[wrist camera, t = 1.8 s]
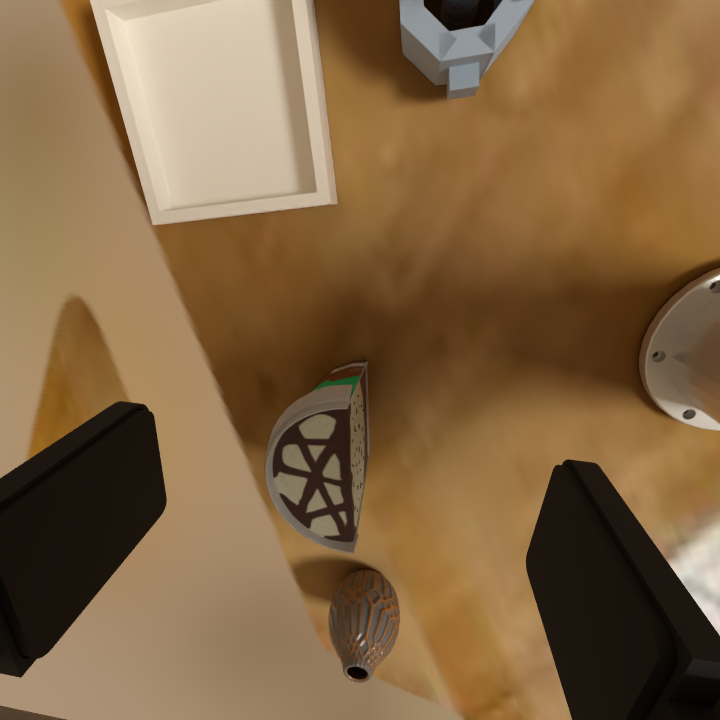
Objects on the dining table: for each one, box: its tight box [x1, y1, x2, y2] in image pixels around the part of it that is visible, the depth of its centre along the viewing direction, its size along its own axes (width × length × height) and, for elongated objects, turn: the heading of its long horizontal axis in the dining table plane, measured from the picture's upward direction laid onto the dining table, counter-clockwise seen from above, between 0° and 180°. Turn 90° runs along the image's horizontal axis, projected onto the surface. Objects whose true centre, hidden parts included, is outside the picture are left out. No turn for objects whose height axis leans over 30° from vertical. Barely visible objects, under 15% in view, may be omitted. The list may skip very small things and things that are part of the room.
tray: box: [90, 0, 338, 225], centre depth 25 cm, size 13×13×2 cm
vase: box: [329, 569, 400, 683], centre depth 37 cm, size 7×7×9 cm
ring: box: [399, 0, 535, 100], centre depth 21 cm, size 7×8×4 cm
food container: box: [265, 360, 369, 554], centre depth 29 cm, size 12×6×10 cm, turn 2°
